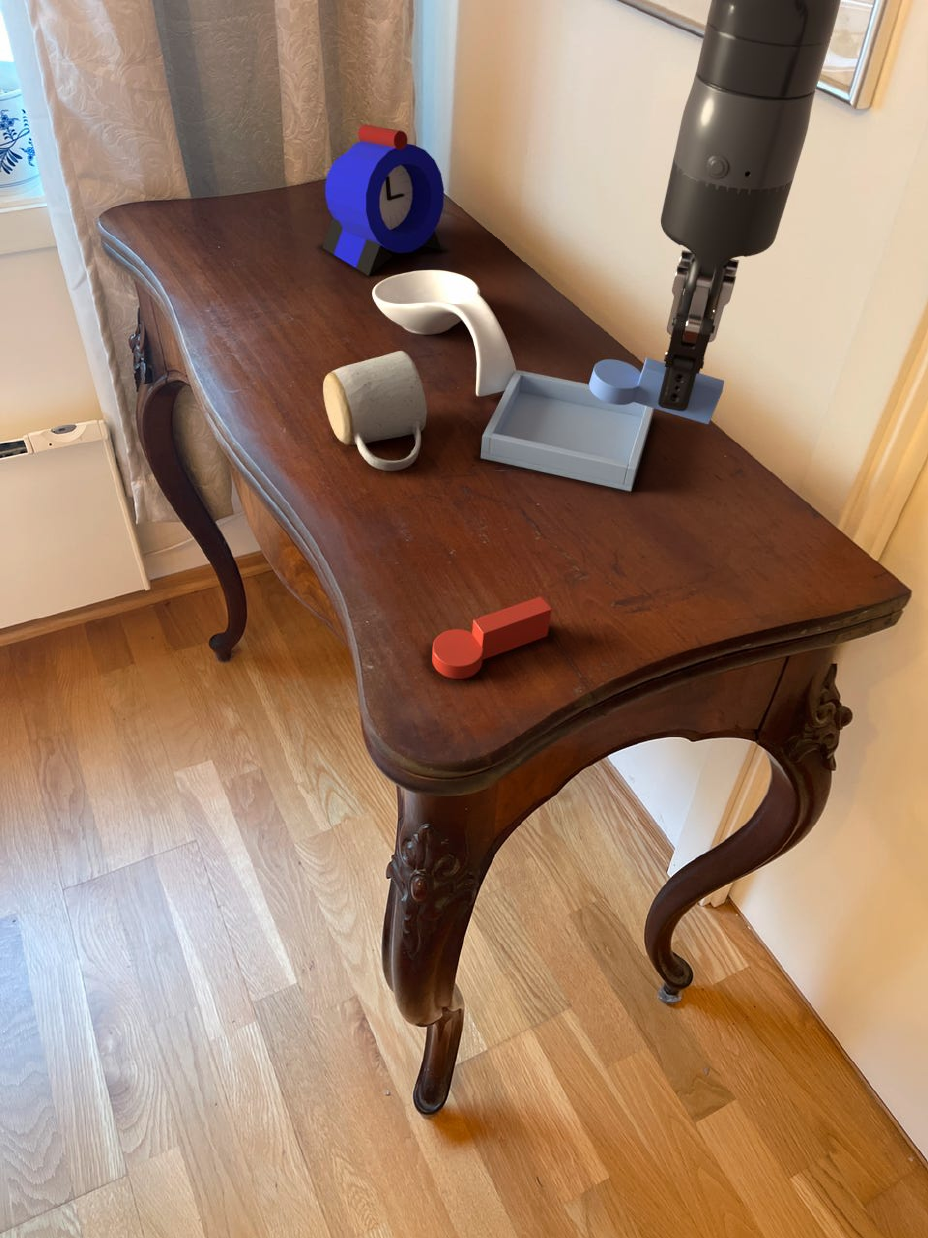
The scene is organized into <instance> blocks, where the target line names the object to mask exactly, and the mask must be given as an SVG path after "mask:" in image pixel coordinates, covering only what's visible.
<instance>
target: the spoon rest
mask: <svg viewBox="0 0 928 1238" xmlns="http://www.w3.org/2000/svg"><path fill="white" fill-rule="evenodd" d="M371 294H372V299H373V301H374V303H375V304H376V306H377V308H378V309H379V310H380V312H381V313H382V314H383V315H385V317H386V318H388V319H389V320H391V321H392V322H393V323H394V324H397V325H398V326H400V327H402V328H403V329H404V330H406V331H408V332H410V333H413V334H416V335H426V336H427V335H438V334H442V333H444V332H446V331H448V330H450V329H451V328H452V327H454V326H455V325H457V324H459V323H460V322H461V321H462V322H463V323H464V324H465V326H466V328H467V329H468V331H469V333H470V335H471V338H472V340H473V344H474V349H475V357H476V379H475V380H476V382H475V383H476V384H475V395H476V396H477V397H479V398H480V397H485V396H489V395H492V394H497V393H502V392H505V390H506V388H507V386H508V384H509V382H510V380H511V379H512V377H513V375H514V373H515V371H516V370H517V369H516V368H517V367H516V364H515V360H514V357H513V353H512V351H511V348H510V344H509V343H508V341H507V337H506V336H505V333H504V331H503V329H502V327H501V325H500V323H499V321H498V318H497V317H496V316H495V314H494V311H492V309H491V307H490V305H489V304H488V303H487V302H486V301H485V299H484V298H483V296H481V290H480V287H479V286H478V284H477V282H475V281H474V280H472V279H471V278H470V277H467V276H466V275H463V274H460V273H456V272H453V271H448V270H442V269H441V270H440V269H426V270H425V269H422V270H414V271H408V272H403V273H399V274H395V275H392V276H390V277H387V278H385V279H383V280H381V281H379V282H378V283H376V285H375V286H374V287H373V289H372V293H371Z"/></svg>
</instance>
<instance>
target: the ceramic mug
mask: <svg viewBox="0 0 928 1238" xmlns="http://www.w3.org/2000/svg"><path fill="white" fill-rule="evenodd" d="M322 383H323V384H322V395H323V401H324V406H325V410H326V414H327V418H328V421H329V424H330V426H331V429H332V431H333V433H334V435H335V436H336V438H337V439H338V440H339V441H340V442H341V443H343V444H344V445H347V446H352V445H353V446H357V449H358V452H359V454H360V455H361V456H362V458H363V459H364V460H365V461H366V462H367V463H368V464H369V465H370V466H372V467H373V468H375V469H378V470H381V471H386V472H395V471H400V470H405V469H406V468H408V467H409V466H411V465H413V463H414V462H415V461H416V459H417V457H418V455H419V452H420V449H421V442H422V436H421V433H422V431H424V429H425V427H426V422H427V411H428V410H427V402H426V396H425V391H424V386H423V382H422V380H421V377H420V375H419V371H418V369H417V367H416V365H415V363H414V361H413V359H412V358H411V357H410V355H409V354H408V353H406V352H405V351H403V350H400V351H399V350H398V351H395V352H391V353H388V354H384V355H381V356H376V357H373V358H370V359H366V360H364V361H363V360H362V361H359V362H356V363H355V362H354V363H351V364H347V365H343V366H341V367H338V368H336V369H334V370H332V371H330V372H329V373H327V374H326V375H325V377H324V380H323V382H322ZM410 435H413V437H414V445H415V446H414V447H413V449H412V450H411V451H410V454H409V455H407V456H406V458H402V459H400V460H390V459H389V460H388V459H382V458H380V457H378V456H376V455H375V454H373V453H372V452H371V451H370V450H369V448H368V447H367V445H366V444H369V443H374V442H378V441H384V440H391V439H396V438H401V437H405V436H410Z"/></svg>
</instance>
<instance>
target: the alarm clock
mask: <svg viewBox="0 0 928 1238" xmlns="http://www.w3.org/2000/svg"><path fill="white" fill-rule="evenodd" d="M357 137H358V140H359V142H357V143H355V144H353V145H352V146H351V147H350V148H349V149H348V150H347V151H346V152H345V153H343V154H341V155H340V156H339V157H337V159H336V160H335V161H334V162H333V163H332V165H331V167H330V169H329V171H328V172H327V175H326V181H325V186H324V189H325V191H324V192H325V194H324V196H325V201H326V205H327V208H328V210H329V213H330V214H331V216H332V219H331V222H330V225H329V228H328V231H327V233H326V236H325V240H324V242H323V245H322V249H323V250H326V251H327V252H329V253H330V254H332V255H334V256H335V257H337V258H339V259H340V260H342V261H344V262H345V263H347V264H349V265H350V266H351V267H353V268H355V269H356V270H358V271H360V272H362V273H363V274H364V275H366V276H368V277H369V276H370V275H371V274H373V273H374V272H375V271H376V270H377V269H378V268H379V267H380V266H382V265H383V264H384V263H386V262H387V261H388V260H389V259H390V258H391V257H392V256H393V255H392V254H391V253H390V252H394V253H397V254H404V253H412V252H414V251H415V250H417V249H419V248H420V247H422V246H423V247H427V248H432V249H436V250H441V251H444V249H443V246H442V244H441V242H440V240H439V237H438V235H437V232H436V229H437V228H438V227H437V226H438V225H439V223H440V220H441V217H442V212H443V208H444V201H445V199H444V198H445V197H444V196H445V187H444V183H443V181H444V180H443V176H442V173H441V170H440V168H439V166H438V164H437V162H436V160H435V159H434V157H432V155H430V153H429V152H428V151H427V150H426V149H424V148H422V147H420V146H417V145H415V144H411V143H408V135H407V133H406V132H405V131H403V130H399V129H392V128H387V127H381V126H378V125H377V126H375V125H369V124H362V125H361V126H360V127H359V129H358V131H357ZM389 251H390V252H389Z"/></svg>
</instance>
